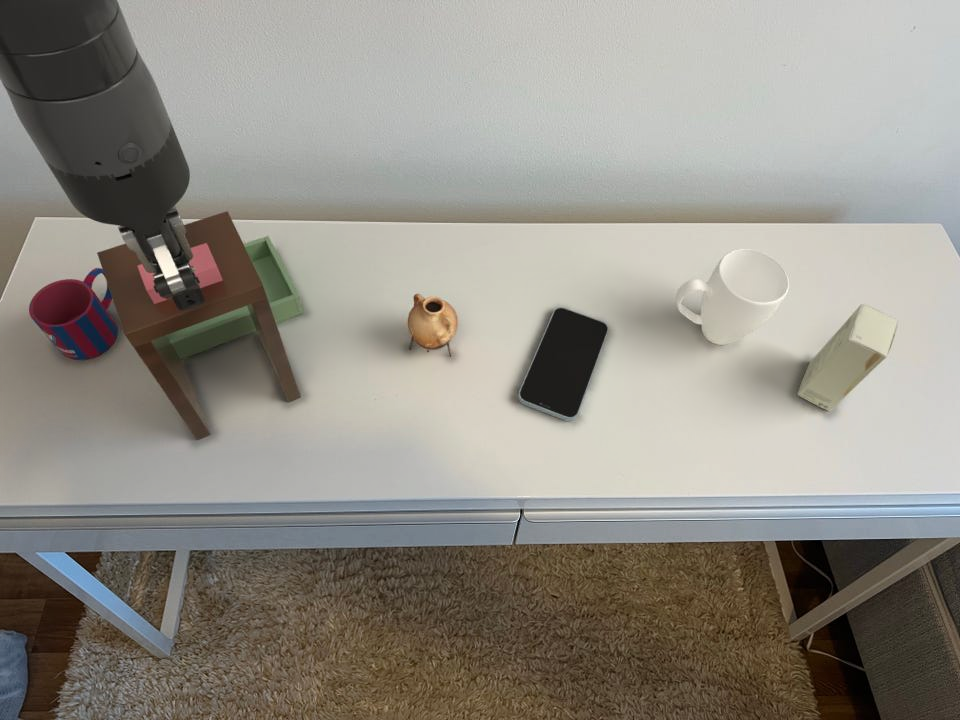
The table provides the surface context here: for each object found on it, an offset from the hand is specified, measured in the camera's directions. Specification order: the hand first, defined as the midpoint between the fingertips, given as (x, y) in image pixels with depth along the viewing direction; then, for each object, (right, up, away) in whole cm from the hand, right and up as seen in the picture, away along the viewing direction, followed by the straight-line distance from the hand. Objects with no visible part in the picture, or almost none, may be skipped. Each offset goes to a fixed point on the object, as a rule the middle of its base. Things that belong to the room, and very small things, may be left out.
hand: (190, 300), depth 55 cm
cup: (-22, -1, +26) cm, 34 cm away
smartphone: (+34, -5, +27) cm, 44 cm away
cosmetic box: (+66, -8, +28) cm, 72 cm away
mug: (+53, -1, +32) cm, 61 cm away
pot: (+18, -3, +28) cm, 33 cm away
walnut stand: (-5, -8, +23) cm, 25 cm away
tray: (-8, +2, +29) cm, 30 cm away
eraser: (-3, +2, +5) cm, 6 cm away
